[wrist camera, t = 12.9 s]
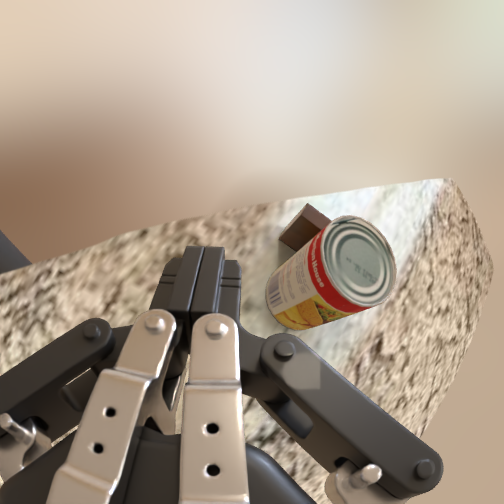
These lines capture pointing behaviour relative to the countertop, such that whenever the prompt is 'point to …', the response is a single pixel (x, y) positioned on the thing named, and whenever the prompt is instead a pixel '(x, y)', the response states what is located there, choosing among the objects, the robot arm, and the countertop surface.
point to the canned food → (333, 275)
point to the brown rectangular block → (304, 227)
